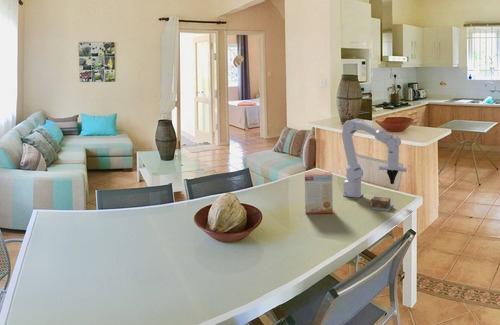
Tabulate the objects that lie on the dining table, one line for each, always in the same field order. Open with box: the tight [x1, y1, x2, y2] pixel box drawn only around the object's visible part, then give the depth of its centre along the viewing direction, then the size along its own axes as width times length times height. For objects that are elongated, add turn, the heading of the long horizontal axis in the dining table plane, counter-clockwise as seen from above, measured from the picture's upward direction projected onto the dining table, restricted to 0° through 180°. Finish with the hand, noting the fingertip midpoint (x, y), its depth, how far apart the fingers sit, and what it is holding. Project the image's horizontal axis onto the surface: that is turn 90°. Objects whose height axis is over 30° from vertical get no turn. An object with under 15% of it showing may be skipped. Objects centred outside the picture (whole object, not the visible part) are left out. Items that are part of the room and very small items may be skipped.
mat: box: [370, 203, 395, 212], centre depth 230 cm, size 9×12×1 cm
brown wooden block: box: [370, 196, 391, 209], centre depth 230 cm, size 4×6×8 cm
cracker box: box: [304, 171, 334, 214], centre depth 224 cm, size 14×6×21 cm, turn 84°
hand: (392, 183), depth 234 cm, fingers closed
